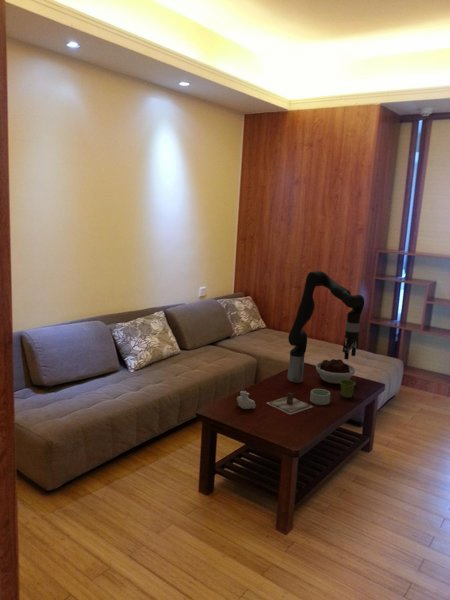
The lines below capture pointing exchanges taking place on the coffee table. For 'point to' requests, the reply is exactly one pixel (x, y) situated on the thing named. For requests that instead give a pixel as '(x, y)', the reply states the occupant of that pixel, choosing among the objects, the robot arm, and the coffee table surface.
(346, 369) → the white round tub
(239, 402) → the bust
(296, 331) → the robot arm
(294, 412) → the tray
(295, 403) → the cover board
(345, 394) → the plant pot
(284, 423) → the coffee table surface
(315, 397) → the bowl
